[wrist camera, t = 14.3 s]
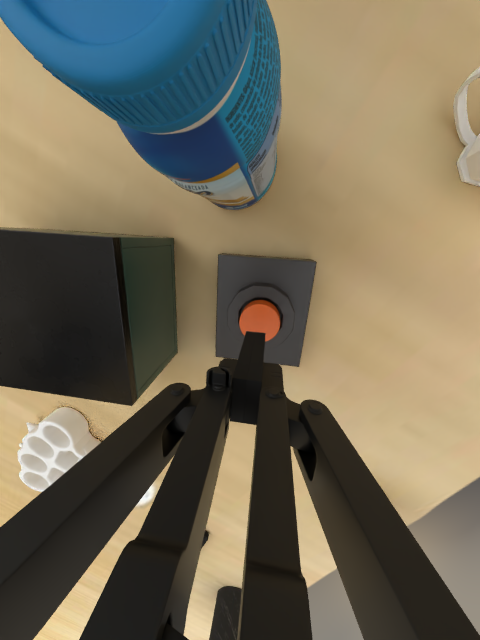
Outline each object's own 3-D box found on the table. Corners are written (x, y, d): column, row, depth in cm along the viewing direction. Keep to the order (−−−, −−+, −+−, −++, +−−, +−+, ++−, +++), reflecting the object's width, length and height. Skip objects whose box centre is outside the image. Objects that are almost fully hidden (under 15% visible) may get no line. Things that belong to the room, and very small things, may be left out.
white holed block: (89, 494, 44) (20, 454, 43) (125, 438, 38) (45, 391, 37) (75, 513, 41) (0, 471, 40) (111, 456, 35) (24, 405, 34)
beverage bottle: (293, 178, 23) (385, -93, 4) (224, 228, 25) (86, 200, 7) (248, 90, 21) (55, -1045, 2) (178, 154, 24) (-189, -173, 5)
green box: (65, 338, 33) (-15, 377, 24) (42, 229, 28) (-69, 224, 19) (177, 352, 31) (137, 399, 22) (173, 237, 26) (120, 237, 17)
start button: (242, 297, 24) (240, 302, 22) (282, 301, 23) (282, 306, 22) (240, 333, 25) (237, 340, 24) (277, 337, 25) (277, 344, 23)
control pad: (222, 253, 26) (214, 255, 22) (313, 259, 25) (320, 263, 21) (219, 348, 30) (211, 364, 26) (297, 357, 29) (300, 375, 25)
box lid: (-22, 376, 24) (-33, 381, 23) (-79, 223, 19) (-95, 222, 18) (137, 399, 22) (132, 406, 21) (120, 237, 17) (112, 236, 16)
